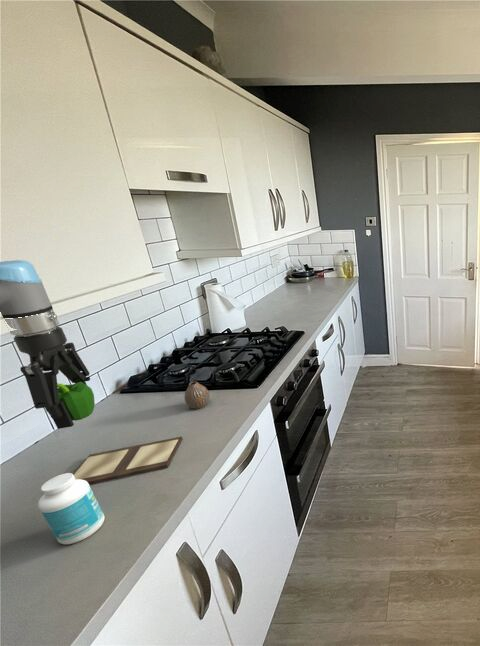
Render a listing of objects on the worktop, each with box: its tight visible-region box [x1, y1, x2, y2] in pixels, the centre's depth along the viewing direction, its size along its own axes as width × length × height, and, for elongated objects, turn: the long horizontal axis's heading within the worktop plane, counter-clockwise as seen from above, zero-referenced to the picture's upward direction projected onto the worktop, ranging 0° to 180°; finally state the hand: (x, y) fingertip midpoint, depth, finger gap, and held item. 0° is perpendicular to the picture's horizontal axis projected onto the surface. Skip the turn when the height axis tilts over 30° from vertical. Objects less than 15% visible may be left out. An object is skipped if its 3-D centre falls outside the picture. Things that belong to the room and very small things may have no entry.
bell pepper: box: [44, 382, 95, 421], centre depth 84 cm, size 8×8×10 cm
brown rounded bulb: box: [183, 381, 210, 410], centre depth 116 cm, size 7×7×9 cm
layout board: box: [72, 436, 184, 485], centre depth 93 cm, size 22×12×1 cm, turn 108°
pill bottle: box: [37, 472, 106, 545], centre depth 72 cm, size 8×7×14 cm
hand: (77, 415), depth 85 cm, fingers closed on bell pepper, 8 cm apart
